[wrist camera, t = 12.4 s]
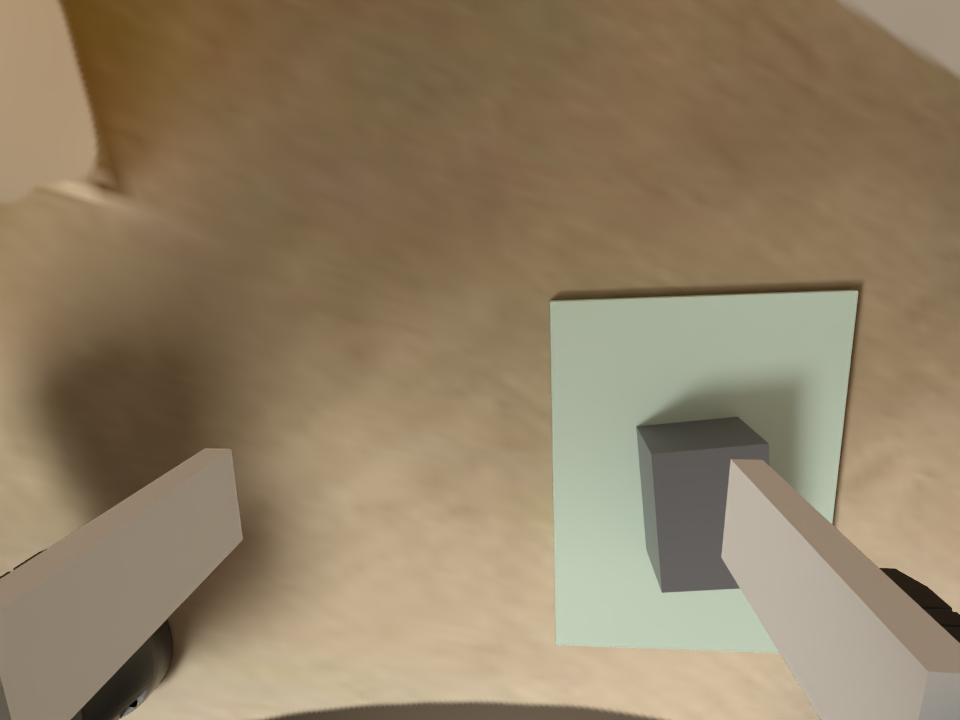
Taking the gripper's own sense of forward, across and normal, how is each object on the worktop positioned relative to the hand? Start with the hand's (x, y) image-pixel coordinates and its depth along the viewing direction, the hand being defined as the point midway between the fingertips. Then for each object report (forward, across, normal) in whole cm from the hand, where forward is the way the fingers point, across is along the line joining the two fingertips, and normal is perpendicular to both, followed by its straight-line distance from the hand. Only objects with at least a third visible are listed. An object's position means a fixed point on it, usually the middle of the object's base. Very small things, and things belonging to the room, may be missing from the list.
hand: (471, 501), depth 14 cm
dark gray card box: (+24, +13, -11) cm, 30 cm away
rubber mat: (+25, +13, -11) cm, 30 cm away
